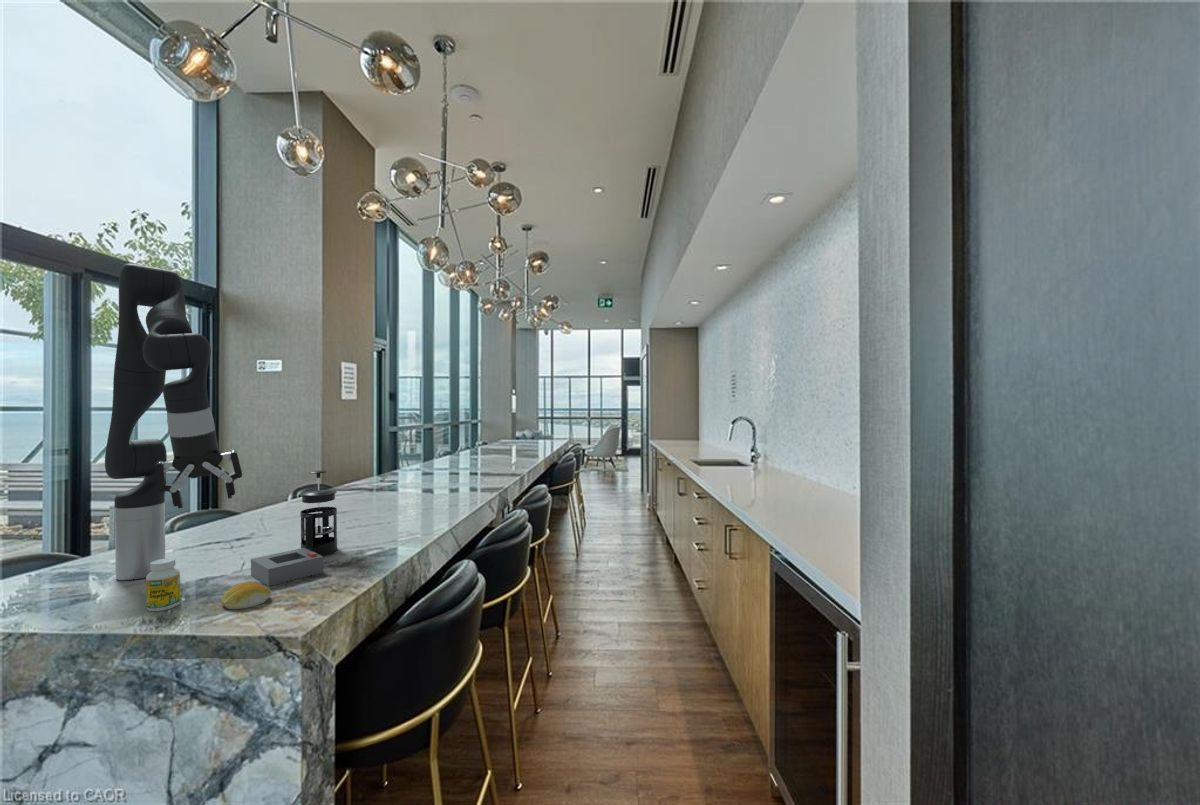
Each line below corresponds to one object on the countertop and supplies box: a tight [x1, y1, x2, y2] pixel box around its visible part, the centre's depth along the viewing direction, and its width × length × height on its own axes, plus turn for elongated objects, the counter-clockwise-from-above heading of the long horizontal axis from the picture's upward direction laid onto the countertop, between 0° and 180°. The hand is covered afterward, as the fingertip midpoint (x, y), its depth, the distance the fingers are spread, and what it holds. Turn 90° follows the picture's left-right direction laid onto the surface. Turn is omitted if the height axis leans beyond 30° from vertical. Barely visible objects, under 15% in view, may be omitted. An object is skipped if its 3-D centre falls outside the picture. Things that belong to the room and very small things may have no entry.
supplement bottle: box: [145, 557, 181, 612], centre depth 107 cm, size 5×5×10 cm
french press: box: [299, 469, 339, 557], centre depth 144 cm, size 12×9×23 cm
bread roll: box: [221, 581, 271, 610], centre depth 110 cm, size 8×9×4 cm
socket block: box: [250, 547, 324, 587], centre depth 127 cm, size 12×12×5 cm
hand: (205, 502), depth 111 cm, fingers open, 8 cm apart
